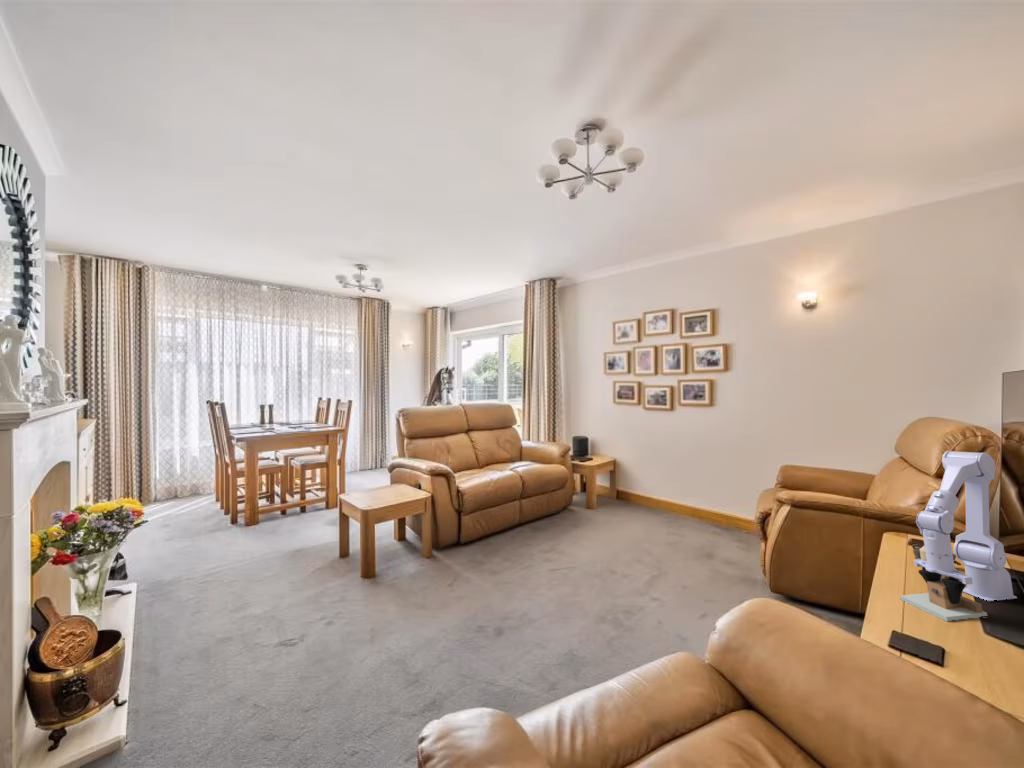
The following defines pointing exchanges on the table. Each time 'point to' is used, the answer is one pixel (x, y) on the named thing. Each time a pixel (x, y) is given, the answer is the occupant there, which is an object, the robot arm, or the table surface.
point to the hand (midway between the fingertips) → (945, 599)
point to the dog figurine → (917, 556)
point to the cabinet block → (941, 595)
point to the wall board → (923, 602)
